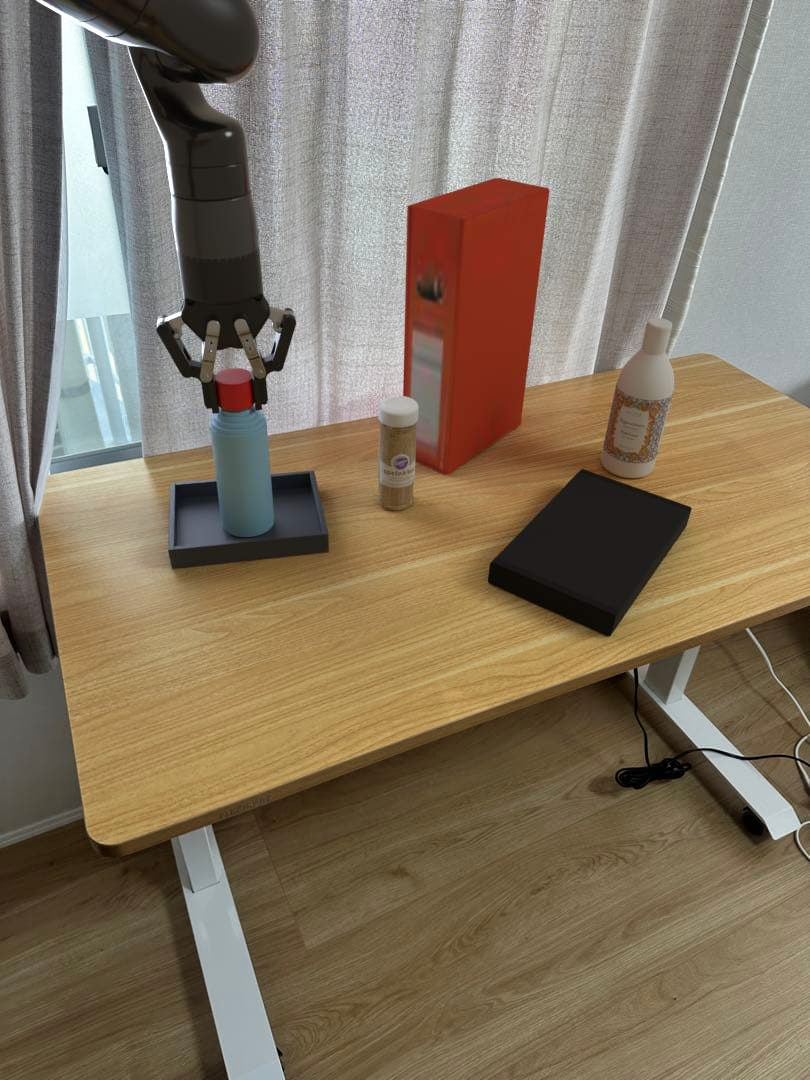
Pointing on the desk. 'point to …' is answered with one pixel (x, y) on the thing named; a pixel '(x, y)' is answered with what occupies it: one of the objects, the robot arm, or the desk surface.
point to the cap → (234, 389)
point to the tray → (208, 543)
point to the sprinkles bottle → (397, 451)
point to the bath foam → (640, 406)
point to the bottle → (242, 471)
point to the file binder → (470, 315)
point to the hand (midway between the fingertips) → (237, 407)
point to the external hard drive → (590, 550)
